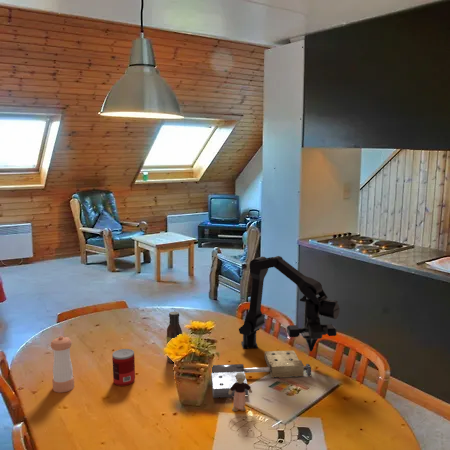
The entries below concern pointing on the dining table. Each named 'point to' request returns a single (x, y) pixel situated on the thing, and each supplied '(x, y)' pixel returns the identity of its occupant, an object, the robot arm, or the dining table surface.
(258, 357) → the dining table surface
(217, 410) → the dining table surface
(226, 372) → the fixed leaf
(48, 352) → the dining table surface
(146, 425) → the dining table surface
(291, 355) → the beige block with rivets
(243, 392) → the grandmother figurine
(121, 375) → the canned food
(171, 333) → the sauce bottle
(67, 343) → the pepper shaker
